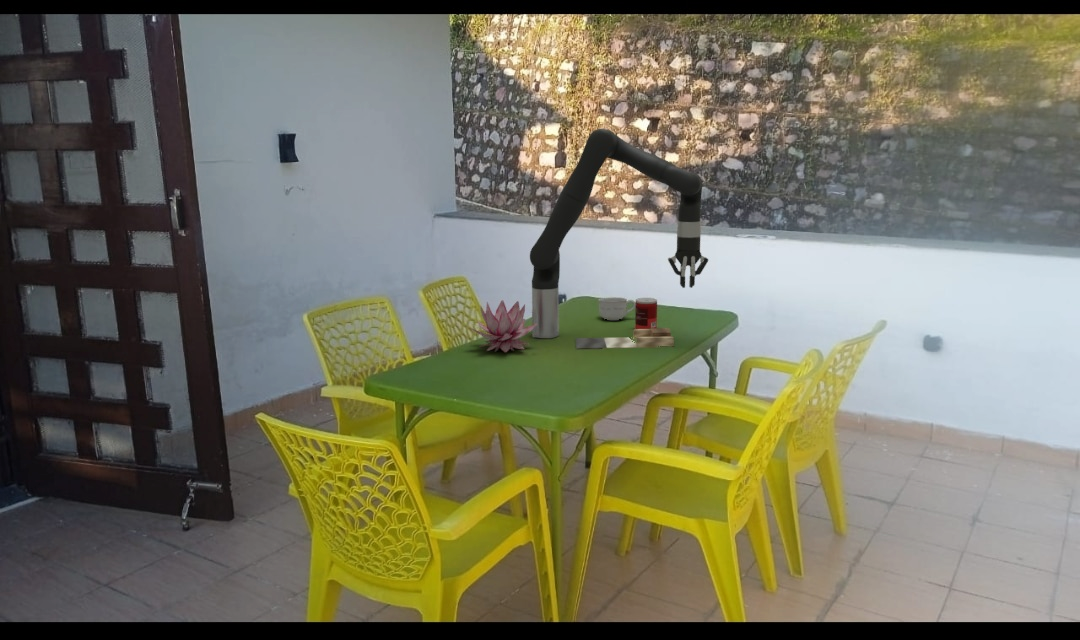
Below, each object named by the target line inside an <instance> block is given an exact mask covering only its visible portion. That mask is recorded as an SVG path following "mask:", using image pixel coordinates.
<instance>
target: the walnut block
mask: <svg viewBox="0 0 1080 640" xmlns="http://www.w3.org/2000/svg"><path fill="white" fill-rule="evenodd" d="M650 337H672V331H671V330H670V328H668V327H667V328H666V327H659V328H658V327H657V328H650Z"/></svg>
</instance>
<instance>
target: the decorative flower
mask: <svg viewBox="0 0 1080 640" xmlns="http://www.w3.org/2000/svg"><path fill="white" fill-rule="evenodd" d="M525 311H526V304H524V305H523V306H522V307H521V309H520V302H519V300H518V301H516V302H515V303H514V304H513V306H512V307H511V308H510V309H509V311H508V310H507V307H506V304H505V302H504V300H501V301H500V303H499V304H498V306H497V309H496V311H495V313H494V314H495V315H494V314H493V312H492V310H491V307H490V304H489V303H488V301H487V302H486V310H485V311H484V308H483V306H480V313H481V316H482V318H483V320H484V323H485V325H484V324H483V323H482V322H481V321H480V320H477V322H478V325H479V327H480V328H481V329H482V330H484V331H485V332H482V331H479V330H476V329H475V328H472V327H471V326H469V329H470V330H472V332H475V334H478V335H481V337H483V338H485V339H488V340H486V341H485V340H484V341H483V342H485V344H482V345H480V347H486V346H489V345H490V346H489V347H488V348H487V349H486V350H485V351H486V352H488V351H491V350H494V349H495V350H494V352H497V351H498V350H499V349H501V351H503V352H504V354H505V353H507V352H508V351H509V350H511V351H513V352H514V351H515V349H518V350H525V347H524V346H527V345H530V343H529V342H526V341H523V340H521V339H520V338H523V337H524V336H526V335H527V334H528V333H530V332H532V330H533V328H534V327H535V326H536V325H537V324H534V325H532V324H531V325H529V326H525V324H526V318H524V317H525ZM524 326H525V327H524Z"/></svg>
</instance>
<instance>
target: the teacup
mask: <svg viewBox="0 0 1080 640" xmlns="http://www.w3.org/2000/svg"><path fill="white" fill-rule="evenodd" d="M629 303H632V307H630V308H629V309H627V307H628V305H629ZM635 306H636V300H634V299H627V298H625V297H615V296H610V297H602V298H598V313H599V316H600V317H601V318H604V319H603V320H605V319H607V320H606V321H620V320H619V319H621V320H622V319H623V318H624V317H625V316H627V315H628V314H629V313H630V312H632V311H634V309H635Z"/></svg>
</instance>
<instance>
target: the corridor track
mask: <svg viewBox="0 0 1080 640" xmlns="http://www.w3.org/2000/svg"><path fill="white" fill-rule="evenodd" d="M632 337H633V339H637V343H636V342H635V341H633V340H631V339H630V338H629V337H627V336H626V337H575V338H574V343H575V349H576V350H600V349H601V350H602V349H612V348H614V349H616V348H618V349H621V348H623V349H624V348H628V349H629V348H661V347H660V346H674V345H675V341H674V340H675V338H674V336H672V335H671V337H650V329H636V328H635V329H634V328H633V330H632ZM632 337H631V338H632ZM632 341H633V342H632ZM634 342H635V343H634ZM658 346H659V347H658Z"/></svg>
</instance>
